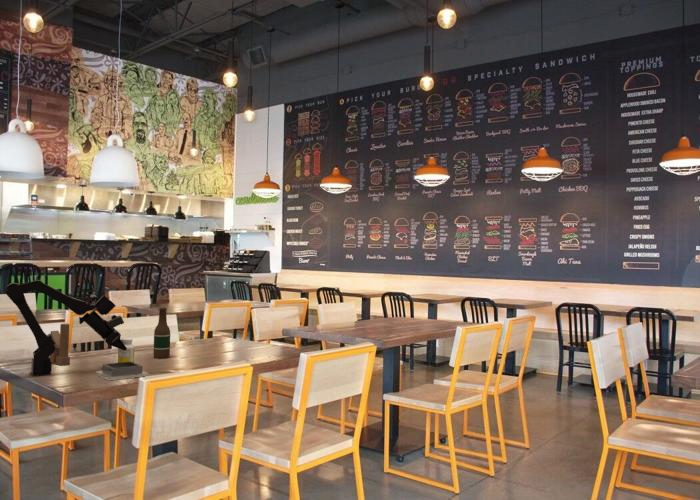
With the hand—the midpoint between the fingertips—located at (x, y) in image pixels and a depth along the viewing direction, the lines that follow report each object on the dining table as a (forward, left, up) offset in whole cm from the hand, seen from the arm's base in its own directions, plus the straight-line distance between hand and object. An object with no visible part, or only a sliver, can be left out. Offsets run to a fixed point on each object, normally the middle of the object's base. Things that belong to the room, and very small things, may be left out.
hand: (124, 348), depth 255 cm
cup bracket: (-5, -13, -9) cm, 17 cm away
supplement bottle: (+1, 0, -9) cm, 9 cm away
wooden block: (-19, +26, -9) cm, 33 cm away
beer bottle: (+25, +20, -9) cm, 33 cm away
